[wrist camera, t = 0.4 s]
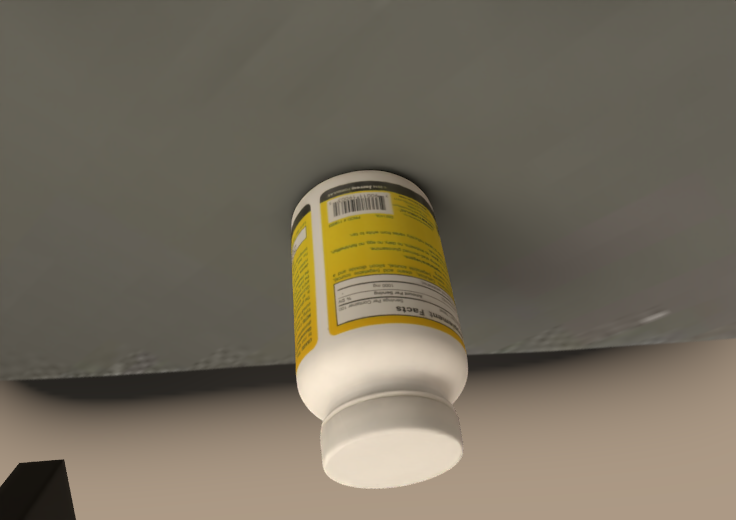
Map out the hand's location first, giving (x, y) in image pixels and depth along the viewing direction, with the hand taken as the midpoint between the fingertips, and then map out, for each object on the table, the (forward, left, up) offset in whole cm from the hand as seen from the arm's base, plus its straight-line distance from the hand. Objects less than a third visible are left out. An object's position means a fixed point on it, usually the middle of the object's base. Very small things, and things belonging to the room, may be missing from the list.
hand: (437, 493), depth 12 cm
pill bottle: (+9, 0, -16) cm, 18 cm away
